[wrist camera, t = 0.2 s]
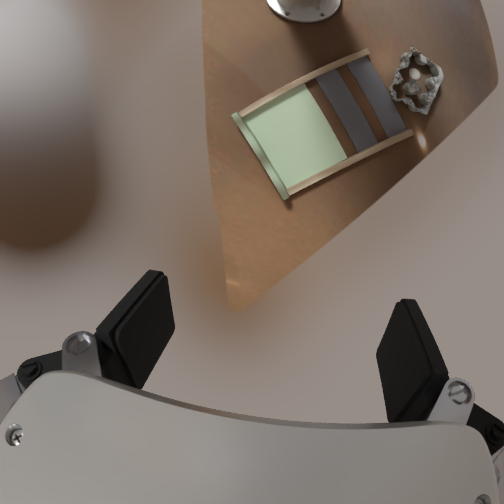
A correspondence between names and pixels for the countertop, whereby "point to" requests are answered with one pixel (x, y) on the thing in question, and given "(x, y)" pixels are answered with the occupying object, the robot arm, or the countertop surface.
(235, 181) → the countertop surface
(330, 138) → the pad
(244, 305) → the countertop surface
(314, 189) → the countertop surface
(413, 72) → the egg carton
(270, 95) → the channel
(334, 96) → the strips
